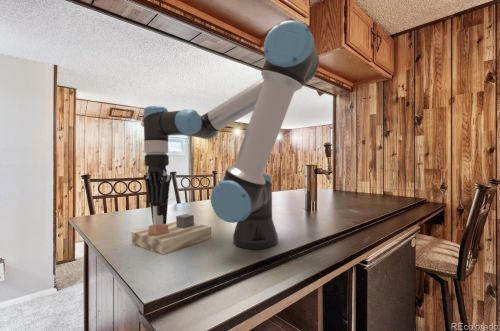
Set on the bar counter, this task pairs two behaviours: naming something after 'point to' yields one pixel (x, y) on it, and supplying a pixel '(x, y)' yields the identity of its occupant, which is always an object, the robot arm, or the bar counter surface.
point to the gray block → (185, 221)
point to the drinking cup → (163, 212)
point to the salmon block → (158, 230)
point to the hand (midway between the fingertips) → (158, 224)
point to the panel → (171, 238)
